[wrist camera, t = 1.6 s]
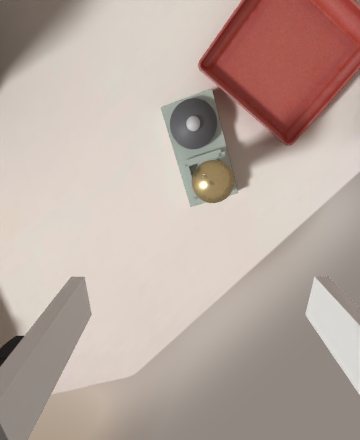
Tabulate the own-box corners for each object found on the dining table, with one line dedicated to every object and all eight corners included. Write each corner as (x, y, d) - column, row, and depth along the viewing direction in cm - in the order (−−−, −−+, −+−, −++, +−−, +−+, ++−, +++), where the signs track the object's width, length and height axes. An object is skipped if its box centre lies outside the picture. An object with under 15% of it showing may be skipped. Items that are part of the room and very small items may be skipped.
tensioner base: (162, 110, 36) (158, 104, 32) (210, 93, 35) (212, 84, 31) (191, 204, 39) (190, 208, 36) (235, 191, 38) (240, 194, 35)
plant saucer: (195, 74, 35) (195, 65, 32) (278, -44, 31) (288, -68, 28) (281, 149, 37) (289, 148, 33) (371, 47, 32) (390, 34, 29)
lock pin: (189, 166, 36) (186, 167, 24) (217, 157, 35) (228, 154, 23) (197, 194, 37) (198, 207, 25) (225, 185, 36) (239, 196, 24)
